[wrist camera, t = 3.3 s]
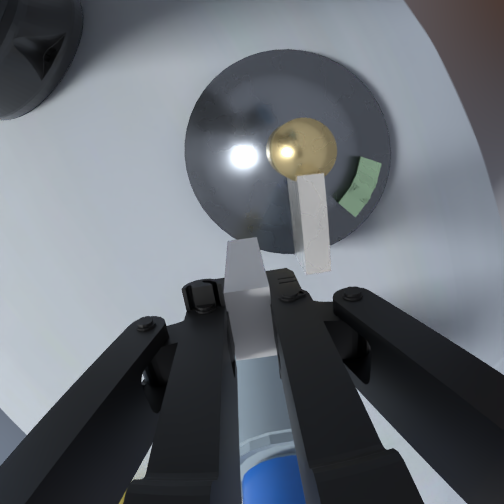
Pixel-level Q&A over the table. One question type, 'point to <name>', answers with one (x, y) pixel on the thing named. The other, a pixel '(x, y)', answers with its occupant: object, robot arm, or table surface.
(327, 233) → the needle dial
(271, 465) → the spray bottle
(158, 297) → the table surface
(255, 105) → the gauge plate
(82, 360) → the table surface
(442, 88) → the table surface
